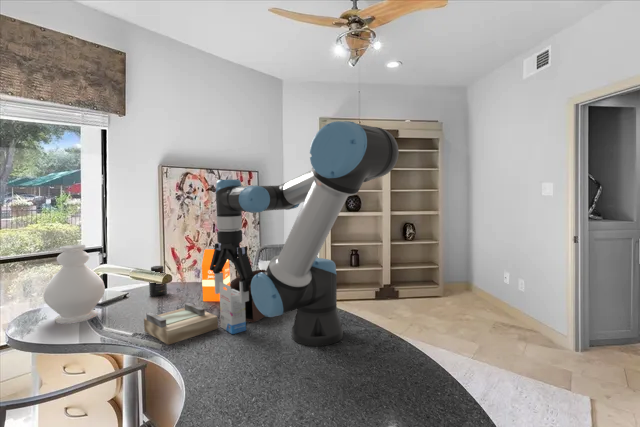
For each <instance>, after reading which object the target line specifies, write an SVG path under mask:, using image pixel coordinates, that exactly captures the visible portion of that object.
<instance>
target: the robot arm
mask: <svg viewBox="0 0 640 427" xmlns="http://www.w3.org/2000/svg"><path fill="white" fill-rule="evenodd" d="M309 147H310V148H309V154H310V155H311V156H310V157H309V161H310V164H311V167H312V168H311V170H309V171H308V172H305V173H302V174H300V175H299V176H297V177H294V178H292V179H290V180H288V181H286V182H284V183H281V184H280V185H242V181H241V180H240V179H218V180H217V181H216V183H215V204H216V205H215V206H216V229H217V231H216V232H217V233H216V235H217V238H216V239H217V242H216V243H214V254H213V258H212V261H211V265H210V270H212V271H213V273H214V281H215V294H219V293H220V282H221V283H223V273H222V272H223V270H222V269H223V267H224V265H225V263H226V261H227V259H228V260H229V262H230V263H232V264H233V265H234V267H235V270H236V271H237V273H238V275H239V276H240V278H241V280H240V303H243V302H247V301H249V280H250V279H252V281H251V294H252V298H253V301H254V303H255V305H256V307H257V309H258V310H259V311H260V312H261V313H262V314H263V315H265V316H266V318H267V317H268V318H274V317H277V316H279V317H280V316H282V315H284V314H287V313H290V312H293V311H296V314H295V318H294V320H293V321H294V322H293V325H292V326H291V338H292V340H293V341H295V342H296V343H298V344H302V345H304V346H312V347H314V346H315V347H323V346H327V345H332V344H336V343H337V342H339V341H341V340H342V339H343V337H344V327H343V325H342V323H341V320H340V316H339V313H338V307H337V306H338V305H337V304H338V303H337V302H338V299H337V296H338V295H337V293H338V292H337V289H338V288H337V287H338V286H337V274H338V273H337V266H336V263H335V261H334V260H332V259H330V258H329V259H328V258H322V257H321V258H320V257H318V255H319V253H320V251H321V249H322V247H323V245H324V244H325V242H326V239H327V237H328V236H329V234H330V232H331V230H332V228H333V227H334V224H335V223H336V220H337V219H338V216H339V214H340V213H341V211H342V209H343V207H344V205H345V204H346V201H347V200H348V197H350V196H354V195H357V194H358V193H359V191H360V189H361V187H362V186H363V183H367V182H369V181H372V180H374V179H378V178H381V177H382V178H383V177H385V176H386V175H387V174H389V173H390V172H391V171H392V170H393V169H394V168H395V166H396V165H397V162H398V159H399V153H400V152H399V151H400V150H399V146H398V142H397V140H396V139H395V137H394V135H392V133H390V132H389V131H388V130H386V129H384V128H382V127H377V126H371V125H365V124H361V123H356V122H354V121H351V120H350V121H347V120H345V121H338V120H337V121H331V122H329V123H327V124H325V125H323V126H322V127H321V128H319V130H318V131H317V132H316V134H315V135H314V136H313V138H312V140H311V143H310V146H309ZM301 203H302V205H301V208H300V210H299V212H298V214H297V216H296V218H295V220H294V222H293V226H292V228H291V229H290V232H289V234H288V235H287V239H286V240H285V243H284V245H283V247H282V248H281V251H280V252H279V255H275V256H273V257H272V258H271V259H270V261H269V263H268V265H267V267H266V269H265V270H266V271H265V272H263V273H262V272H260V273H258V274H256V275H255V276H254V274H253V271H254V270H253V269H252V266H251V261H250V259H249V256H248V248H247V247H246V246H243V247H242V246H240V243H242V242H243V230H242V228H243V220H242V214H243V212H244V213H245V212H246V213H251V214H253V213H254V214H255V213H262V212H268V211H281V210H286V211H289V210H292V209H297V208H298V207H299V206H300V204H301ZM214 265H215V266H214ZM220 272H221V273H220ZM239 276H238V277H239Z"/></svg>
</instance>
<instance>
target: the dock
mask: <svg viewBox="0 0 640 427" xmlns="http://www.w3.org/2000/svg"><path fill="white" fill-rule="evenodd" d="M143 324H144V325H143V326H144V328H143V329H144V332H145V333H147V334H149V335H150V336H152V337H154V338H156V339H158V340H159V341H161V342H163V343H164V344H165V345H168V346H169V345H173V344H176V343H178V342H182V341H185V340H188V339H191V338H193V337H196V336H200V335H202V334H206V333H209V332H211V331H212V332H213V331H215V330H218V329H219V328H218V327H219V326H218V325H219V324H218V316H217V315H215V314H213V313H211V312H207V311H206V310H205V307H204V308H203V307H201V306H198V305H196V304H193V303H190V302H187V303H184V307H183V308H179V309H175V310H171V311H167V312H164V313H160V314H155V313H153V312H147V313H146V317H145V318H143Z"/></svg>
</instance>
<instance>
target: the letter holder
mask: <svg viewBox="0 0 640 427" xmlns="http://www.w3.org/2000/svg"><path fill="white" fill-rule="evenodd" d="M252 271H253V274H254V276H255V275H256V274H258V273H260V272H262V273H263V272H265V271H266V269H257V270H252ZM240 280H241V278H240V276H237V277H235V278H234V279H232V280H230V286H231V289H235V290H237V291H239V292H240ZM251 281H252V279H250V280H249V301H247V302H245V315H246V323H253V324H254V323H256V322H258V321H259V320H262V319H263V318H267V316H265V315H263V314H262V313H261V312H260V311H259V310H258V309H257V307H256V305H255V303H254V301H253V298H252V294H251Z"/></svg>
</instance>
